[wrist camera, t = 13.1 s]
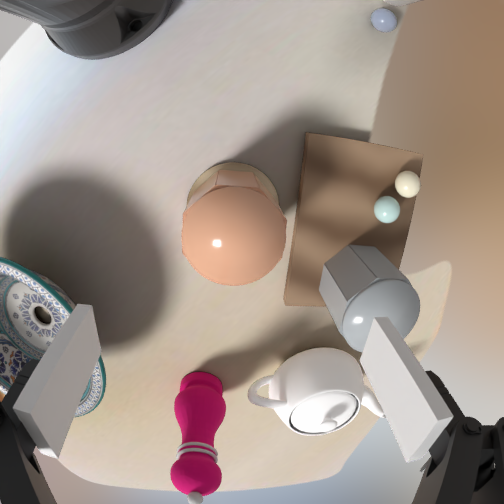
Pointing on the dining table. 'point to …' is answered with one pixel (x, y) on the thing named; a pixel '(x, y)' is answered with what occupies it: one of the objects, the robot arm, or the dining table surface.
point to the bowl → (35, 327)
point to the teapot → (317, 391)
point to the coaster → (233, 167)
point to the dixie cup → (400, 2)
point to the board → (344, 208)
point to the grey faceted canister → (366, 293)
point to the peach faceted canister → (233, 229)
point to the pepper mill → (198, 435)
